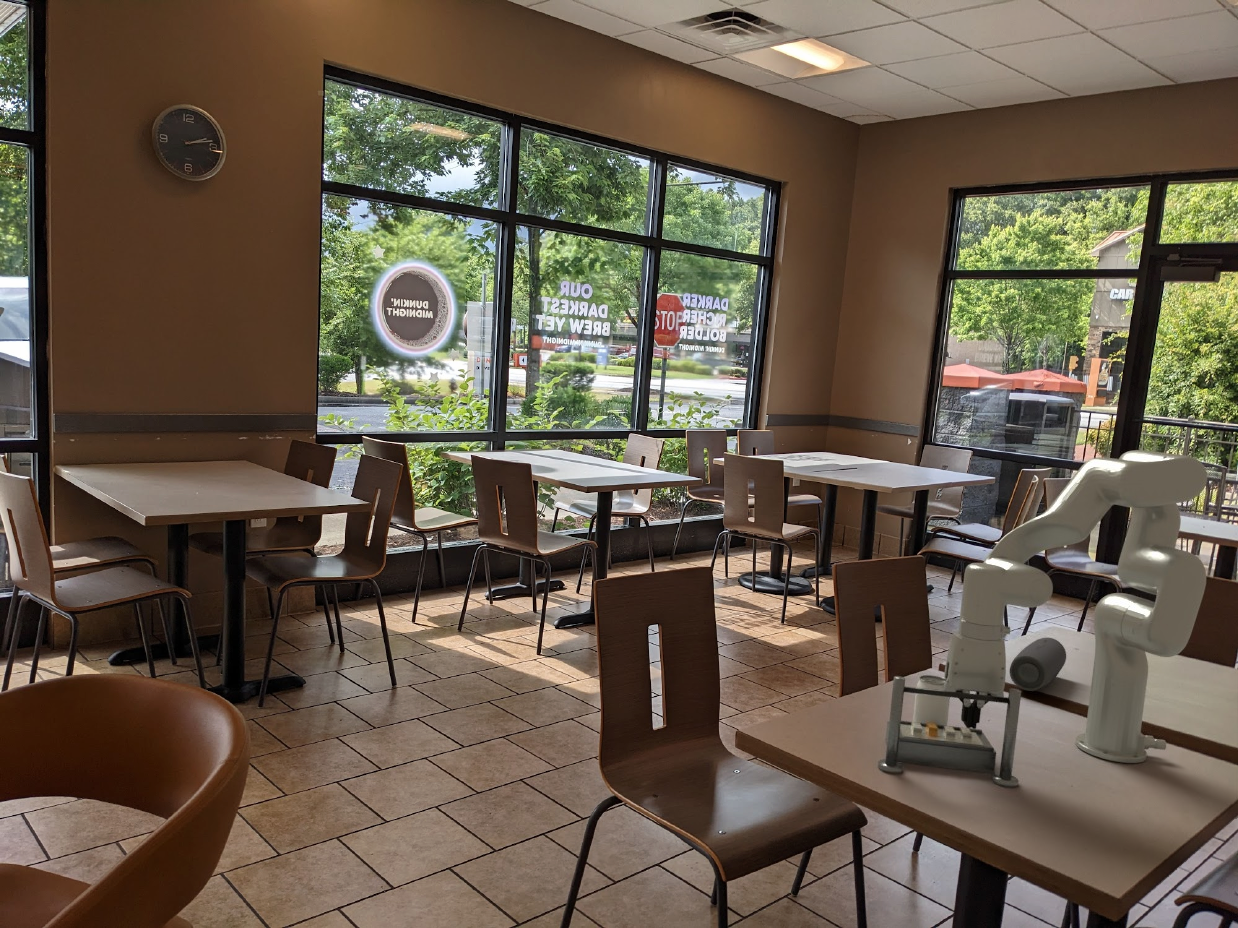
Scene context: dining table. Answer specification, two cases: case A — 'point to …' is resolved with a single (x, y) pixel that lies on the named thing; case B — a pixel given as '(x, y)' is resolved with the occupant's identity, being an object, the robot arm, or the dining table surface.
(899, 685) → the cord stand
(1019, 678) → the bluetooth speaker
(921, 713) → the can
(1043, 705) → the dining table surface
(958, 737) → the breaker panel
